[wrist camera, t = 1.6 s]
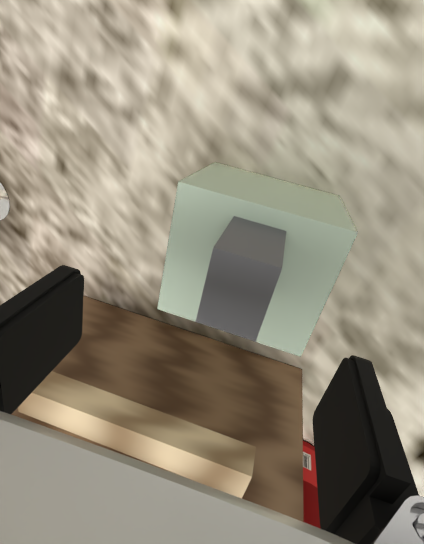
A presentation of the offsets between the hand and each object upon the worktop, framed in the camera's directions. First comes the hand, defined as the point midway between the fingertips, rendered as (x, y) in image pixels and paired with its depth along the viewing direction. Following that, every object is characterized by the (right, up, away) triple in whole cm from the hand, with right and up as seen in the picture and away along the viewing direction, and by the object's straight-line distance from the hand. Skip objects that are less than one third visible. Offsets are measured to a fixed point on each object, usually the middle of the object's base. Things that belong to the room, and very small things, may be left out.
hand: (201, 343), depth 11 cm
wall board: (-3, -6, +24) cm, 25 cm away
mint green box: (+4, +6, +16) cm, 18 cm away
